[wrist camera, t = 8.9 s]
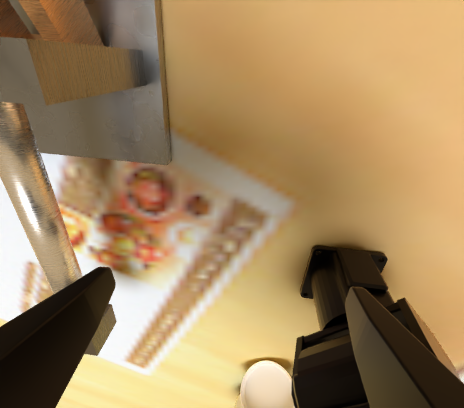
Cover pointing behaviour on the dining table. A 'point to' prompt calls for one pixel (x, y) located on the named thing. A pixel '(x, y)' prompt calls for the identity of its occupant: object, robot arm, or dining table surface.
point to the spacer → (50, 21)
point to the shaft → (40, 209)
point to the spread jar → (265, 387)
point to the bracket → (94, 85)
